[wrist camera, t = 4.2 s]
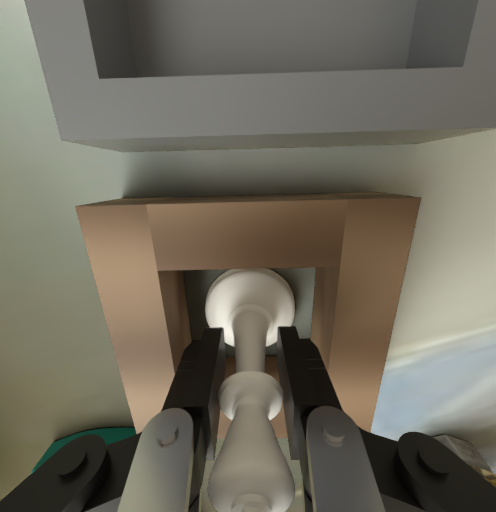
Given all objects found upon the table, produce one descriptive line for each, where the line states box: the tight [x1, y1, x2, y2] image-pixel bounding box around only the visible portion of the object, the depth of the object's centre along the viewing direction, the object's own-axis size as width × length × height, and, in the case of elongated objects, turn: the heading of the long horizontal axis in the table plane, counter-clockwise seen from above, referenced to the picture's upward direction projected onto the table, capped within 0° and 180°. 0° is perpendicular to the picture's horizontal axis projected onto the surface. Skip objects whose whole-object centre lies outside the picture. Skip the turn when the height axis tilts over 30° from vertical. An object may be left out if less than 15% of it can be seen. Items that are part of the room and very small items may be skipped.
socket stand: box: [75, 192, 421, 438], centre depth 11 cm, size 12×12×3 cm
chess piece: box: [205, 268, 295, 512], centre depth 8 cm, size 5×5×10 cm
